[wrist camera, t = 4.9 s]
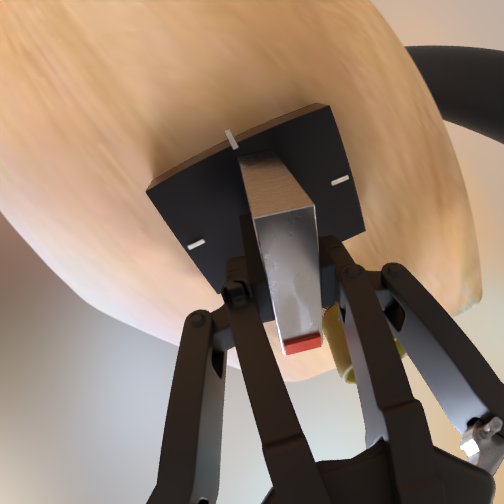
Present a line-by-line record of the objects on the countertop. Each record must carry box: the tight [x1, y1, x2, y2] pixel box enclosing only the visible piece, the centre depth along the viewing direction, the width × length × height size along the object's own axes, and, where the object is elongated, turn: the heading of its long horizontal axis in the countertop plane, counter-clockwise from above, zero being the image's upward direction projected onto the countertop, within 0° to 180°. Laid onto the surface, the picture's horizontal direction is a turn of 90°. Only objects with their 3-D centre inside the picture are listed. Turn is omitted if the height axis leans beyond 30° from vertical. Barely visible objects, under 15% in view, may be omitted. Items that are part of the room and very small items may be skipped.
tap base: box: [146, 103, 366, 294], centre depth 21 cm, size 14×13×3 cm
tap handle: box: [238, 149, 323, 355], centre depth 16 cm, size 9×2×9 cm, turn 11°
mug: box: [322, 301, 407, 384], centre depth 29 cm, size 12×10×10 cm
